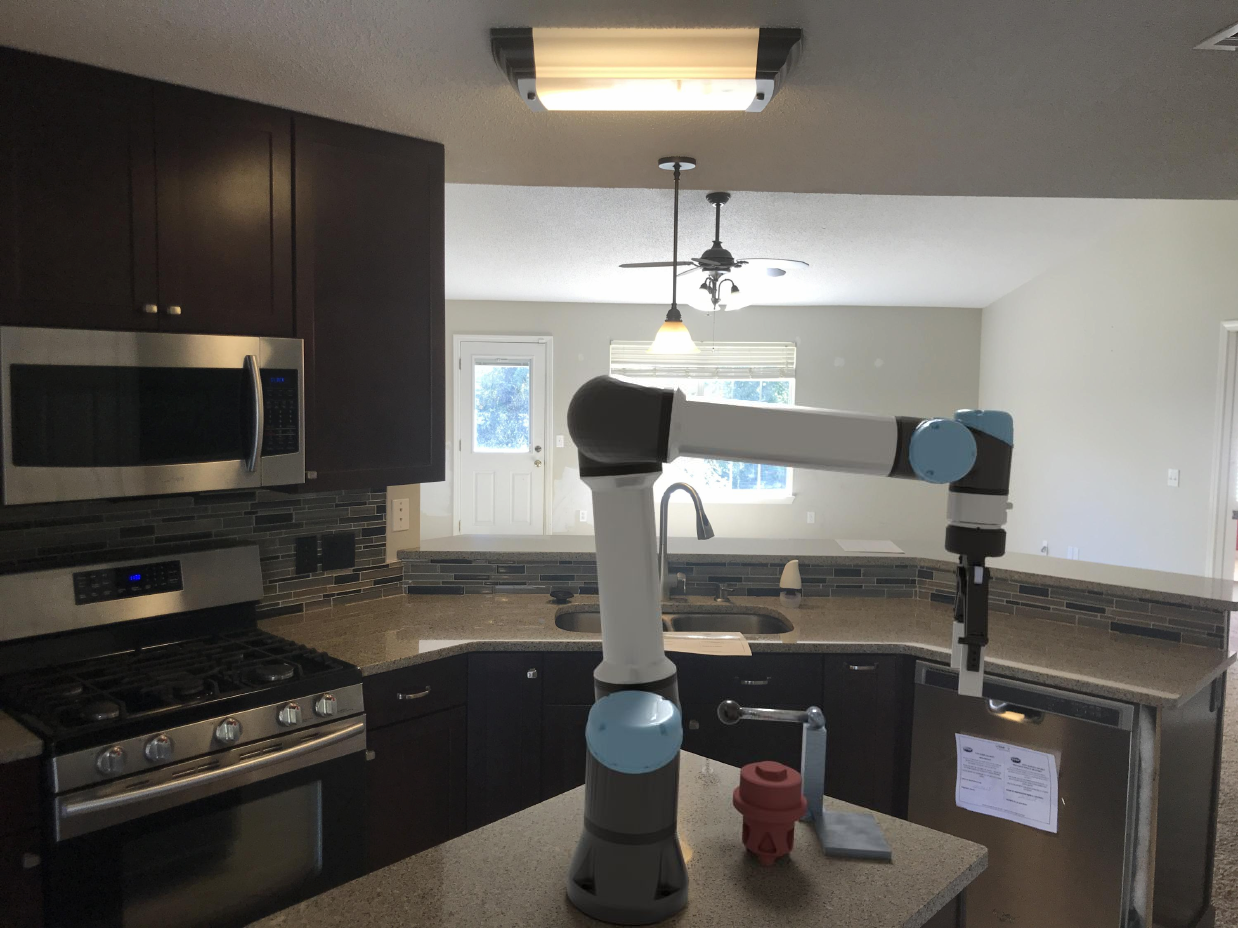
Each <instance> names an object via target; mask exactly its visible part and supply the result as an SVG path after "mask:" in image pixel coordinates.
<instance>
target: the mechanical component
mask: <svg viewBox="0 0 1238 928" xmlns="http://www.w3.org/2000/svg"><path fill="white" fill-rule="evenodd" d="M739 771H740V772H739V786H737V787H735V789H734V790H733V791H732V792H733V793H732V805H733V808H734V809H735V810H736V811H737V812H738V813H739V814H741V815H742V829H741V830H742V831H741V842H742V845H744V847H745V848H747V849H748V850H749V851H751V852H752V853H754V854H755V855H756V856H757V857H758V859H759V862H760V864H761V865H762V866H765V867H771V866H772V865H773V864H774V863H775V860H776V859H777V858H779V857H782V856H785V855H787V854H789V853H791V852H792V851H793V849H794V845H795V825H796V823H795V822H798V821H801V820H800V819H801V818H803V817H804V816H805V815H806V812H807V800H806V798H805V796H804V795H803V794H802V793H801V789H802V776H801V773H800V772H798V771H797V770H796V769H793V768H792V767H790V766H787V765H784V764H783V763H780V762H777V761H772V760H771V761H770V760H765V761H764V760H763V761H760V762H753V763H749V764H745V765H744V766H742V767H741V769H740V770H739Z"/></svg>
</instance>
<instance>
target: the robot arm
mask: <svg viewBox="0 0 1238 928" xmlns="http://www.w3.org/2000/svg"><path fill="white" fill-rule="evenodd" d="M566 423H567V424H566V425H567V429H568V434H569V436H570V438H571V440H572V442H573V443H574V445H575V447H576V448H577V459H578V471H579V479H580V481H581V482H583V483H584V484H585V485H586V486H587V487H588V488H589V489H590V491H591V501H592V504H591V505H592V513H593V514H592V516H593V526H594V527H593V528H594V529H593V531H594V542H595V543H594V545H595V559H596V571H597V573H596V574H597V587H598V597H599V599H598V600H599V613H600V614H599V615H600V626H601V630H600V631H601V640H602V641H601V642H602V644H601V645H602V657H603V659H602V661H601V662H600V663H599V664H598V665H597V667H596V668H595V669H594V670H593V682H594V683H593V684H594V696H595V697H594V698H595V703H594V704H592V706H591V708H590V710H589V714H588V720H587V722H586V726H585V739H586V755H585V756H586V759H585V760H586V761H585V764H586V765H585V779H584V780H585V784H584V805H583V807H584V808H583V824H582V825H583V826H582V830H581V832H580V835H579V838H578V840H577V844H576V846H575V849H574V851H573V855H572V857H571V860H570V862H569V866H568V869H567V876H566V878H567V879H566V893H567V896H568V899H569V900H570V902H571V903H572V904H573V906H575V908H577V909H578V910H579V911H580V912H582V913H583V914H586V916H589V917H591V918H594V919H595V920H600V921H602V922H606V923H610V924H617V925H623V926H627V925H628V926H637V925H638V926H639V925H649V924H654V923H659V922H661V921H665V920H667V919H669V918H671V917H674V916H675V915H676V914H678V913H679V912H680V911H682V909H684V907H685V906H686V904H687V902H688V899H689V882H690V879H689V878H690V877H689V871H688V869H687V865H686V862H685V861H686V860H685V857H684V854H683V850H682V847H681V844H680V840H679V835H678V811H679V810H678V809H679V793H680V792H679V791H680V788H679V787H680V768H681V767H680V765H681V748H682V747H681V745H682V744H683V736H684V733H683V731H684V730H683V725H682V716H683V715H682V713H683V712H682V707H681V702H680V699H679V686H678V675H677V674H678V673H677V666H676V664H674V662H673V661H671V660H670V659H669V658H668V657H667V656H666V655H665V644H664V642H665V641H664V630H663V627H664V626H663V613H662V600H661V599H662V598H661V597H662V596H661V583H660V572H659V571H660V570H659V556H658V554H659V553H658V541H657V527H656V526H657V525H656V512H655V511H656V510H655V500H654V499H655V497H654V495H655V494H654V485H655V483H656V482H657V481H658V479H659V478H660V477H661V476H662V475H663V473H664V470H663V464H671V463H672V462H674V461H675V460H676V459H678V458H680V457H681V458H692V459H693V458H694V459H702V460H713V461H723V462H733V463H742V464H743V463H744V464H751V465H752V464H754V465H763V466H765V465H766V466H775V467H784V468H795V469H803V470H814V471H822V472H823V471H825V472H833V473H835V472H836V473H845V474H855V475H864V476H866V475H867V476H875V477H887V478H891V479H902V480H909V481H919V482H920V481H921V482H926V483H929V484H938V485H945V484H948V491H947V501H946V515H945V516H946V517H945V518H946V520H948V521H950V523H949V524H947V525H946V526H945V536H944V537H945V539H944V549H945V550H946V551H947V552H948V553H951V554H956V555H959V556H958V564H957V565H956V566H955V567H956V568H955V578H956V579H955V595H954V605H953V607H952V612H953V619H954V621H953V625H952V627H953V628H952V640H951V641H952V642H951V643H952V644H951V657H950V668H951V669H957V670H959V676H958V695H962V696H971V697H975V698H976V697H977V698H978V697H979V698H982V697H983V682H984V673H985V671H984V669H985V655H986V646H987V645H988V644H989V642H990V641H989V639H990V638H989V637H988V635H989V594H990V593H989V592H990V590H989V584H990V580H991V570H990V567H987V566H986V558H1001V557H1003V556H1004V555H1005V554H1006V545H1007V544H1006V543H1007V542H1006V541H1007V531H1006V529H1004V528H1002V526H1005V525H1006V524H1007V523H1008V511H1007V510H1013V508H1014V504H1013V502H1010V501H1009V494H1010V484H1011V483H1010V482H1011V472H1012V471H1011V470H1012V461H1013V460H1012V459H1013V450H1014V449H1015V447H1014V446H1015V445H1014V444H1015V443H1014V432H1015V431H1014V419H1013V417H1012V415H1011V414H1010V413H1009V412H1007V411H1003V410H991V409H958V410H956V411H955V412H954V413H953V419H951V418H945V417H932V418H926V417H925V418H924V417H916V416H906V415H904V416H903V415H894V414H886V413H875V412H874V413H873V412H864V411H855V410H844V409H835V408H834V409H833V408H823V407H815V406H803V405H792V404H783V403H772V402H764V401H763V402H761V401H751V400H741V399H740V400H739V399H731V398H719V397H710V396H702V395H701V396H698V395H688V394H686V393H685V392H683V391H682V389H681V388H680V387H679V386H678V385H670V384H663V383H656V382H652V381H651V382H649V381H645V380H641V379H637V378H633V377H630V376H626V375H622V374H618V373H617V374H616V373H611V374H609V373H607V374H603V375H598V376H595V377H593V378H591V379H589V380H587V381H586V382H585V383H583V384H582V385H581V386H580V387H579V388H578V389H577V391H576V392H575V393H574V394H573V395H572V398H571V400H570V402H569V405H568V409H567V413H566ZM1008 501H1009V502H1008Z"/></svg>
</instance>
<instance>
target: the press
mask: <svg viewBox="0 0 1238 928" xmlns="http://www.w3.org/2000/svg"><path fill="white" fill-rule="evenodd" d="M802 723H803V724H802V725H803V727H802V728H803V729H802V744H801V745H802V747H801V749H802V750H801V761H800V762H801V764H800V765H801V766H800V767H801V768H800V775H801V776H802V789H801V793H802V794H803V795H804V796H805V798H806V800H807V812H806V815H805V816H804V817H803V818H801V819H800V820H799V821H804V822H805V821H807V822H812V823H813V825H814V829H815V831H816V834H817V837H818V840H819V843H820V845H821V849H822V851H823V854H824V856H829V857H843V858H855V859H867V860H869V859H870V860H882V861H884V860H885V861H892V853H893V851H892V849H891V848H890V846H889V844H888V842H887V840H886V838H885V836H884V834H883V832H882V831H881V829H880V826H879V825H878V824H879V823H877V821H876V818H875V817H874V814H873V813H860V812H846V811H833V810H826V808H825V806H824V791H825V790H824V789H825V774H826V773H825V771H826V751H827V749H826V748H827V734H828V733H827V732H828V731H827V729H826V727H825V725H824V726H823V727H822V728H820V729H814V728H812V727H811V726H810V724H809V723H805V722H802Z"/></svg>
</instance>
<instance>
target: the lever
mask: <svg viewBox="0 0 1238 928" xmlns="http://www.w3.org/2000/svg"><path fill="white" fill-rule="evenodd" d="M717 716H718V718H719V720H720V721H721V722H722V723H723V724H726V725H734V724H736V723H737V722H739V720H740V719H748V720H758V721H759V720H760V721H762V720H763V721H778V722H795V723H805V724H810V726H811V727H812V728H814V729H820V728H822V727H823V726H824V727H825V724H826V718H825V716H824V714H823V713H822V710H821V709H820V708H819V707H817V706H810V707H808V708H807V709H806V711H801V710H786V709H785V710H784V709H773V708H772V709H771V708H770V709H769V708H756V707H755V708H754V707H741V706H740V704H738V702H736V701H734V700H731V699H725V700H724V701H723V700H722V702H721V703H720V704H719V705H718V707H717Z"/></svg>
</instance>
